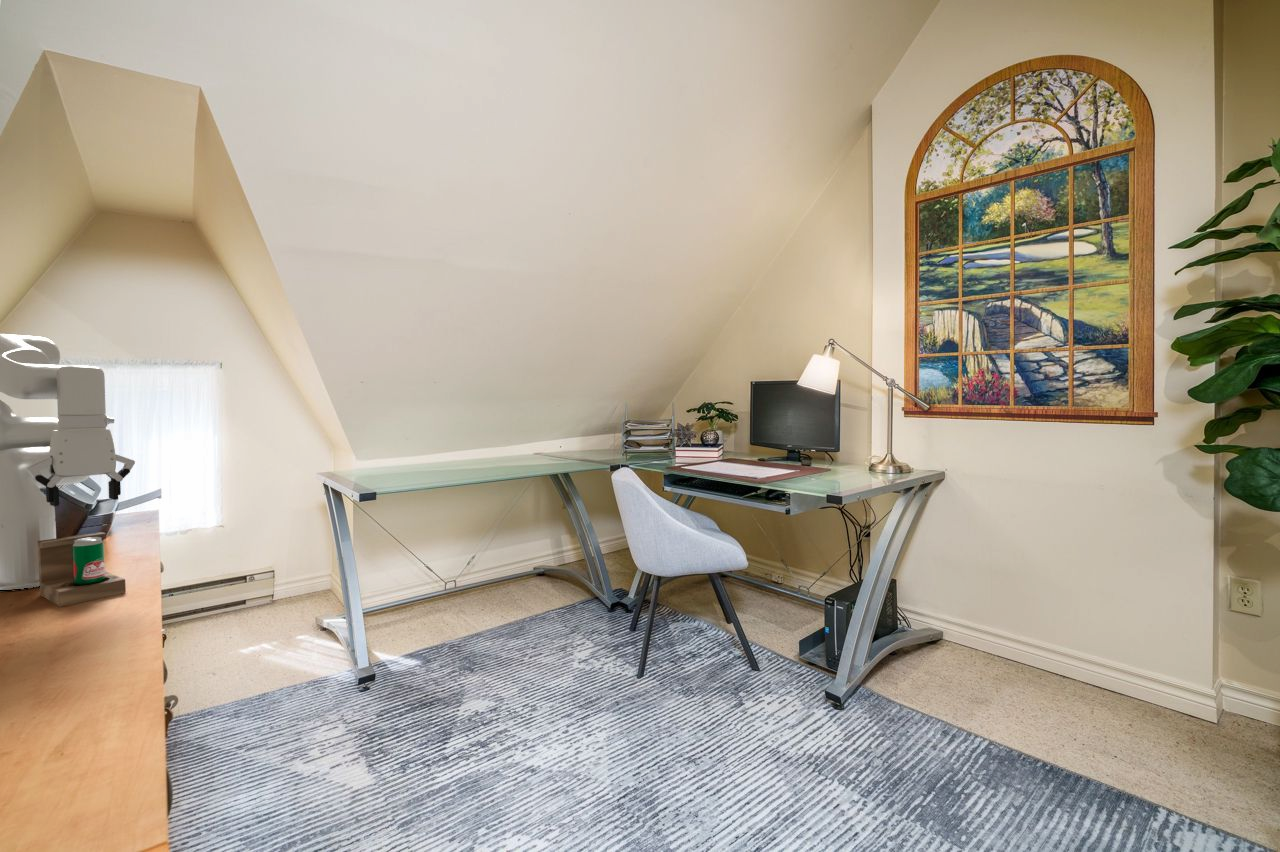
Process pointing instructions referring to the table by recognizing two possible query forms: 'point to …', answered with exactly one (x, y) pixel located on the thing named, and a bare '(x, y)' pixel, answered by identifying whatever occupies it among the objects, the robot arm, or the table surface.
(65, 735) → the table surface
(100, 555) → the soda can
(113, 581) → the socket block
